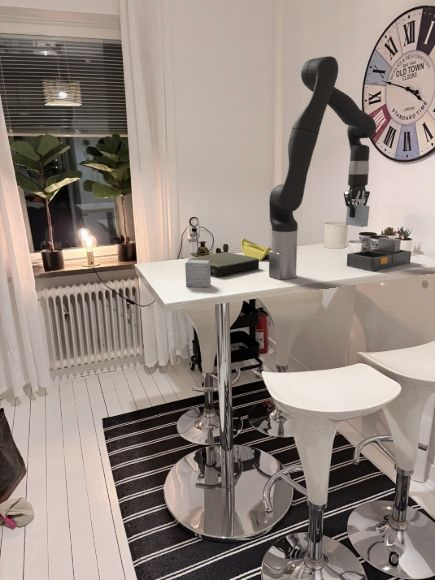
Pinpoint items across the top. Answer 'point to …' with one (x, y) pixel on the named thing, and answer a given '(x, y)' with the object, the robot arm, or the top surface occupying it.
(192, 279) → the medicine box
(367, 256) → the tray
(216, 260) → the network switch
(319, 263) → the top surface
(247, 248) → the plastic component
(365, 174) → the robot arm
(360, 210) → the light blue block
